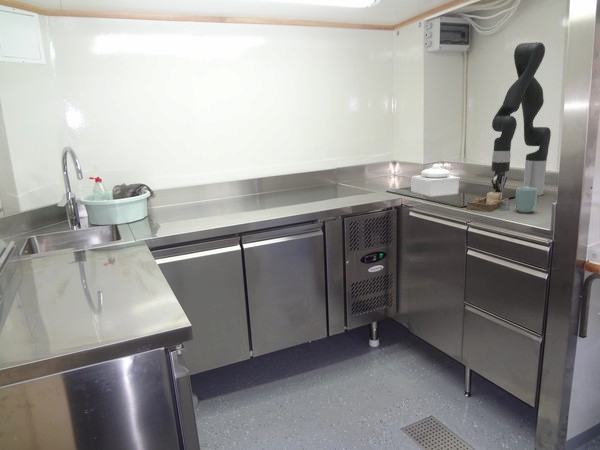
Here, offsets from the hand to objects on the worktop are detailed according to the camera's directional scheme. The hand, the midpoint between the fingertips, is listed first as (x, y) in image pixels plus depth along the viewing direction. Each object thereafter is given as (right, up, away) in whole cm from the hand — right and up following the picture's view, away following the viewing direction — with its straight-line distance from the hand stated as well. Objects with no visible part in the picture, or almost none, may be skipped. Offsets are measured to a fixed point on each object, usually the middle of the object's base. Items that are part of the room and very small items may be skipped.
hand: (497, 197), depth 200 cm
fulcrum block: (-4, -6, -14) cm, 16 cm away
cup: (+2, -7, -20) cm, 21 cm away
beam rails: (-7, -4, -7) cm, 11 cm away
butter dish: (-20, +4, +30) cm, 36 cm away
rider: (-3, -3, -3) cm, 5 cm away
